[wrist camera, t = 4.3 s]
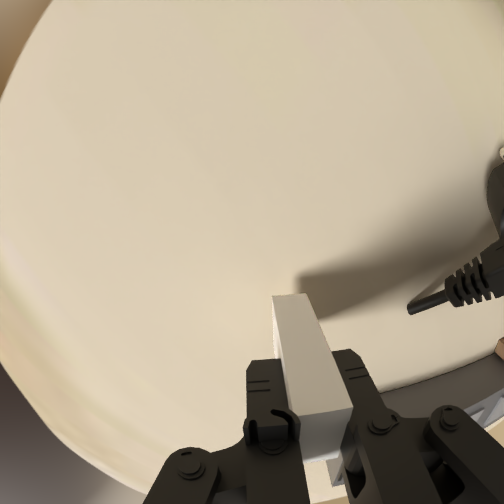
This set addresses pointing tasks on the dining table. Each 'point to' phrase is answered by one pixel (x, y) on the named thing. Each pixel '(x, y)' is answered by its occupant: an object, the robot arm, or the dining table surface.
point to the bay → (500, 348)
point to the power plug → (476, 261)
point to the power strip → (448, 398)
